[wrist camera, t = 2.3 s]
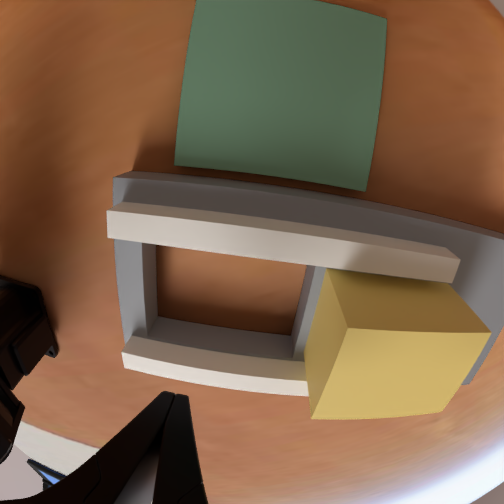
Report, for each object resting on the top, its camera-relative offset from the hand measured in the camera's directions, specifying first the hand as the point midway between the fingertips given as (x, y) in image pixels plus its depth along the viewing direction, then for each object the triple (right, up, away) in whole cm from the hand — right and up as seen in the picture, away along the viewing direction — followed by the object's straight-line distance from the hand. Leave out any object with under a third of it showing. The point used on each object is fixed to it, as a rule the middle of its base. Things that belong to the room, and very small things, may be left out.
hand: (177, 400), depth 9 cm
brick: (+9, +1, +6) cm, 11 cm away
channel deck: (+8, +2, +8) cm, 11 cm away
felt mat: (+4, +13, +4) cm, 14 cm away
